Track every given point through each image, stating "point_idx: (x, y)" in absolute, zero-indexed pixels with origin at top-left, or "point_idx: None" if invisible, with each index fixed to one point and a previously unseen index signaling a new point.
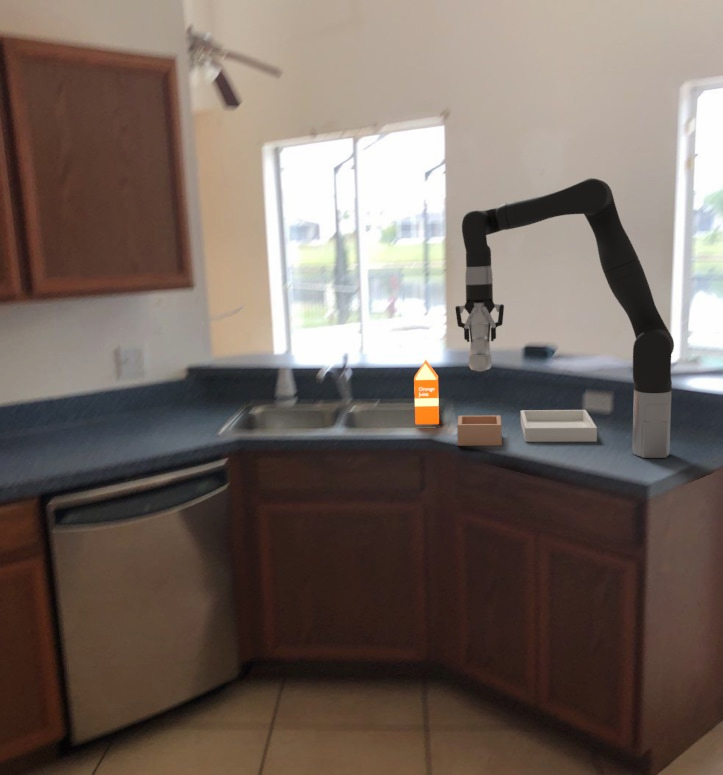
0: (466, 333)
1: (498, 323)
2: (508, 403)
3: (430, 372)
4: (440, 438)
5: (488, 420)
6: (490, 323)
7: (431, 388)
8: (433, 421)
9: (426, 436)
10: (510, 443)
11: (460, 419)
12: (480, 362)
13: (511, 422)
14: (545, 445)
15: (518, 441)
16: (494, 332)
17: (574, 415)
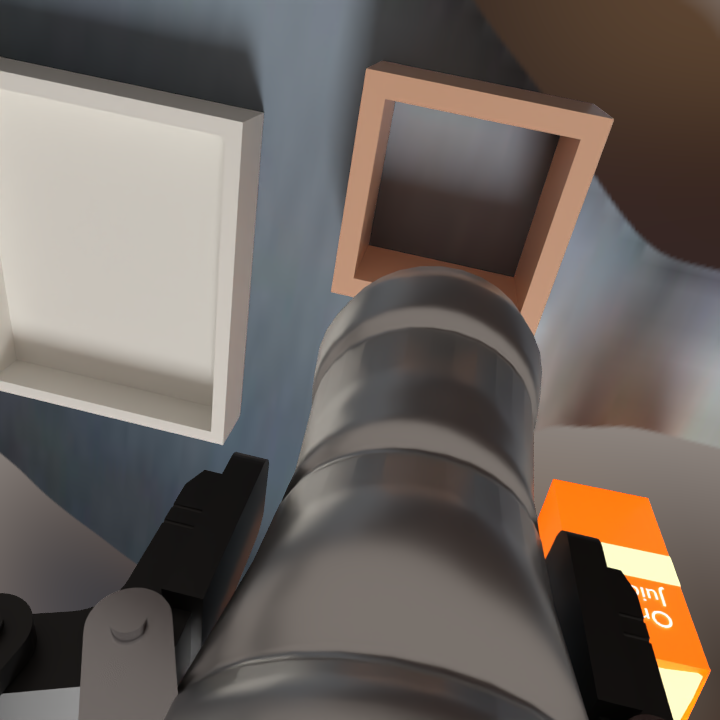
0: (620, 649)
1: (14, 641)
2: None
3: None
4: (627, 258)
5: None
6: (168, 686)
7: None
8: (575, 490)
9: (678, 308)
10: (333, 94)
11: (550, 254)
12: (449, 286)
13: (272, 427)
14: (182, 20)
15: (292, 125)
16: (174, 541)
17: (34, 375)
